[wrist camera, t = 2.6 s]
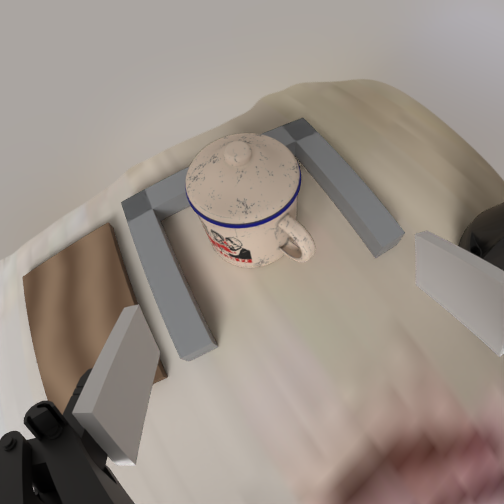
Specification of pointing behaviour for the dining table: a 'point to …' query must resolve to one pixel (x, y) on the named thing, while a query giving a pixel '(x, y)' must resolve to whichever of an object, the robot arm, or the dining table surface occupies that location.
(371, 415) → the dining table surface
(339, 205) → the cup dock
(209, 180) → the teacup with lid
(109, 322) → the walnut board
